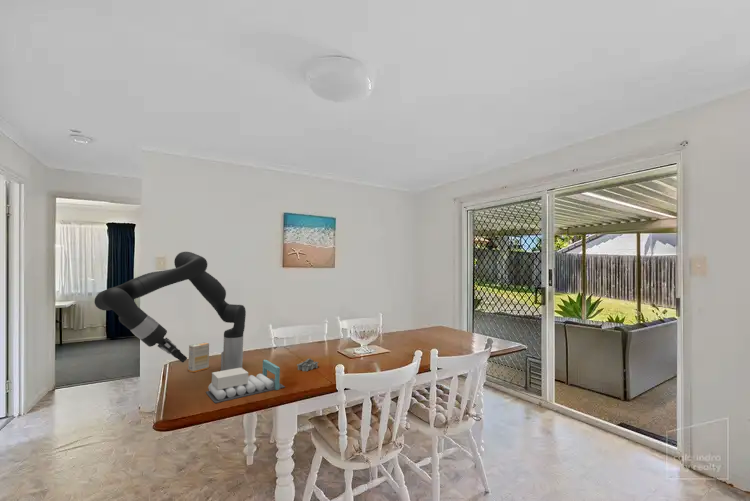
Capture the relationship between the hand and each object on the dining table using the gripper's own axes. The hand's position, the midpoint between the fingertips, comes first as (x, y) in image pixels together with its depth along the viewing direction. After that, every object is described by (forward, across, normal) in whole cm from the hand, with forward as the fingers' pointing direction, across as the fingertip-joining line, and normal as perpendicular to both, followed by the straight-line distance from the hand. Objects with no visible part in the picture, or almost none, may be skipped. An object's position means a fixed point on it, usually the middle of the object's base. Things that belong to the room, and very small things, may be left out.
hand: (181, 358), depth 131 cm
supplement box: (+26, +43, -2) cm, 50 cm away
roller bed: (+31, 0, -6) cm, 31 cm away
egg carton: (+57, +9, -33) cm, 66 cm away
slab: (+23, +1, -4) cm, 23 cm away
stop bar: (+38, -1, -14) cm, 41 cm away
